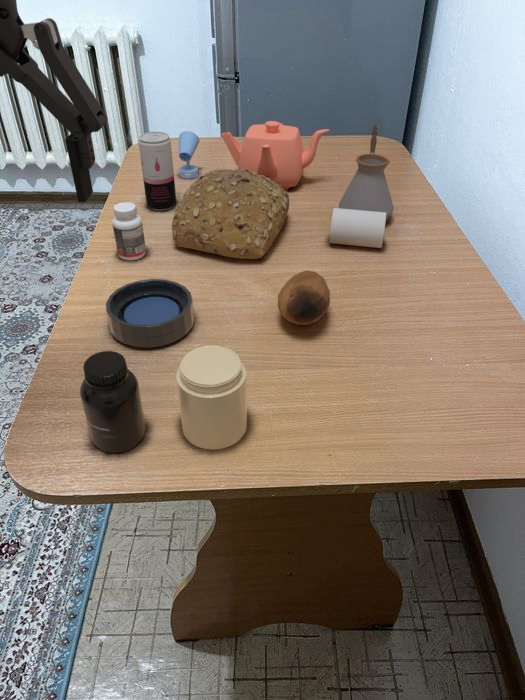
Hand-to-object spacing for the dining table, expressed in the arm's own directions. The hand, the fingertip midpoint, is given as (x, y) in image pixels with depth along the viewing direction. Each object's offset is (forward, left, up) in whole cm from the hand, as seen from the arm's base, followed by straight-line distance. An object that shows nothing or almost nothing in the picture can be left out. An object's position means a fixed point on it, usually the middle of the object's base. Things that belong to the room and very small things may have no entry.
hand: (23, 194), depth 61 cm
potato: (+31, +20, -29) cm, 47 cm away
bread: (+16, +48, -29) cm, 58 cm away
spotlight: (+2, +78, -29) cm, 83 cm away
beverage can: (-1, +60, -29) cm, 67 cm away
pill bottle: (-2, +38, -29) cm, 48 cm away
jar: (+20, -5, -29) cm, 35 cm away
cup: (+41, +46, -29) cm, 68 cm away
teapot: (+23, +75, -29) cm, 84 cm away
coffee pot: (+44, +62, -29) cm, 81 cm away
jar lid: (+7, +16, -27) cm, 32 cm away
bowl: (+7, +16, -29) cm, 34 cm away
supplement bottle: (+8, -8, -29) cm, 31 cm away
